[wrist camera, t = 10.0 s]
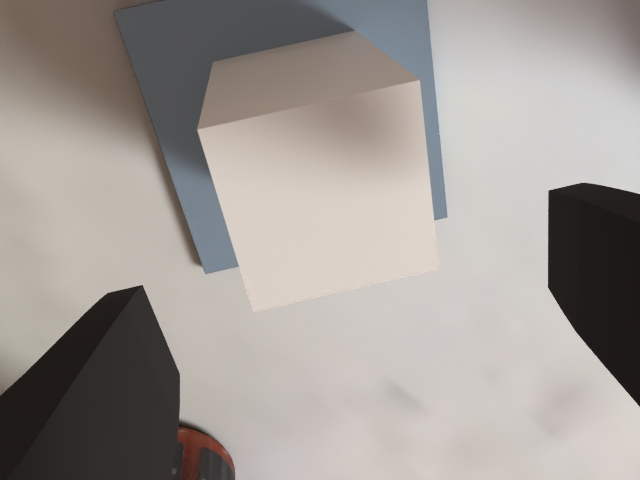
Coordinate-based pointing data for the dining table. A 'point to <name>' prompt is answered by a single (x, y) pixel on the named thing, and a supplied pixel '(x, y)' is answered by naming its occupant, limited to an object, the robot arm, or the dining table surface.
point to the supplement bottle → (200, 458)
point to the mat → (245, 38)
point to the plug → (319, 168)
